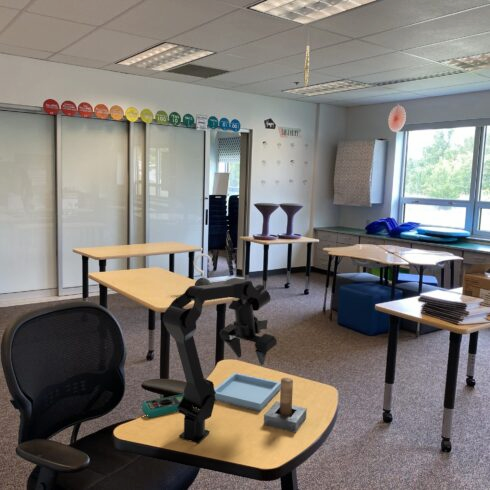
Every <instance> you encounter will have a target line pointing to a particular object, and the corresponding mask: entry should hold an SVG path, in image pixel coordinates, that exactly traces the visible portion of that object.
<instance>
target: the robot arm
mask: <svg viewBox="0 0 490 490" xmlns="http://www.w3.org/2000/svg"><path fill="white" fill-rule="evenodd" d="M227 298H228V299H229V298H232V301H231V302H230V304H229V305H228V309H229V310H232V311H234V317H235V321H233V324H232V323H230V324H228V325H226V326H225V327H223V328H222V329H221V330H220V332H219V337H220V339H221V340H223V342H224V343H226V344H227V346H229V348H230V349H231V350H232V351H233V353H234V354H235V356H237V358H241V357H242V348H241V340H243V341H248V342H249V341H250V342H253V343H255V344H254V347H255V353H256V356H257V360H258V362H259V364H260V366H264V364H265V361H266V356H267V354H268V352H269V351H270V350H271V349H272V348H274V347H275V346H276V345H277V344H278V343H277V337H276V336H274V335H271V334H268V333H263V335H261V336H259V335H257V334H260V333H261V331H262V330H267V329H268V321H269V320H268V318H265V317H260V316H256V315H255V314H254V312H257V311H259V310H261V308H263V307H264V306H265V305H268V303H270V302H271V295H270V292H269V291H268V289H266V288H265V285H264V284H261V283H260V284H259V283H258V284H257V285H256V286H254V285H253V282H252V281H251V280H247V279H243V278H238V277H231V278H229V279H226V281H224V282H222V283H213V284H211V285H203V286H195V285H190V286H189V287H188V288H187V289H185V291H184V292H183V293H182V294H181V295H179V296H178V297H176V298H175V299H173V300H172V302H171V303H170V305H169V306H168V307H167V308H166V310H165V311H164V313H163V315H162V322H163V324H164V327H165V328H166V331H167V332H168V333H169V334H170V336H171V337H172V338H173V339H174V341H175V345H176V347H177V352H178V355H179V358H180V363H181V367H182V370H183V374H184V377H185V381H186V383H185V386H184V388H183V394H184V396H183V398H182V400H181V401H180V403H179V405H178V407H177V409H178V414H181V415H184V418H183V431H182V432H181V433H180V434H179V436H178V437H179V439H182V440H186V441H190V442H193V443H195V444H196V443H197V444H199V443H201V442H202V441H203V440H204V439H205V438H206V437H207V436H208V435H209V434H210V433H211V432H210V430H207V429H206V420H208V419H210V418H212V414H213V411H214V410H213V409H214V406H215V404H216V400H215V394H216V392H215V390H214V389H215V385H214V383H213V381H211V380H209V379H207V378H205V377H204V374H203V370H202V365H201V361H200V358H199V354H198V350H197V346H196V342H195V337H194V335H195V332H196V330H197V321H198V319H199V318H200V317H201V315H202V311H203V304H205V302H206V301H212V300H213V301H214V300H220V299H227ZM234 299H236V300H234ZM192 302H193V306H192V307H191V309H187V308H184V307H186V306H188V305H189V304H190V303H192Z"/></svg>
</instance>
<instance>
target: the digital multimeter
mask: <svg viewBox="0 0 490 490" xmlns="http://www.w3.org/2000/svg"><path fill="white" fill-rule="evenodd" d="M183 396H184V393H181V394H177V395H171V396H167V397H161V398H156V399H150V400H145V401H143V402H142V403H141V405H142V406H141V408H142V412H143V414H144V415H145V416H147V415H148V417H147V418H149V417H151V418H154V417H155V418H156V417H159V416H163V415H167V414H172V413H177V412H178V409H177V407H178V405H179V403H180V401H181V400H182V398H183ZM178 413H179V412H178Z"/></svg>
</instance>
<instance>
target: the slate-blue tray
mask: <svg viewBox="0 0 490 490" xmlns="http://www.w3.org/2000/svg"><path fill="white" fill-rule="evenodd" d="M214 390H215V392H216V394H215V402H216V401H218V402H222V403H225V404H229V405H234V406H237V407H241V408H246V409H249V410H254V411H258V412H262V410H264V409H265V407H267V405H268V404H269V403H270V402H271V401H272V399H274V398H275V397H276V396H277V395H278V393H279V392H281V381H276V380H275V381H274V380H271V379H267V378H261V377H257V376H251V375H247V374H243V373H238V372H234V373H232V374H231V375H229V377H227V378H226V379H225V380H223V382H220V384H218V385H217V386H216V387H214Z"/></svg>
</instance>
